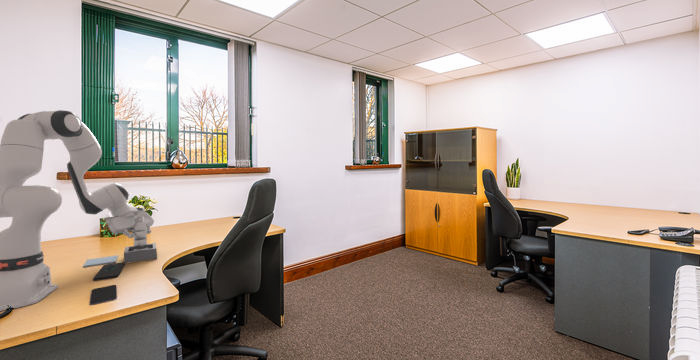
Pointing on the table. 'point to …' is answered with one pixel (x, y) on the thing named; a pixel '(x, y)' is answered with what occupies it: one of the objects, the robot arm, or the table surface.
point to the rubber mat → (100, 261)
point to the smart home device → (109, 271)
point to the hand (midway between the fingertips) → (140, 234)
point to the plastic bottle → (139, 234)
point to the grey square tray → (140, 253)
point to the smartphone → (103, 294)
